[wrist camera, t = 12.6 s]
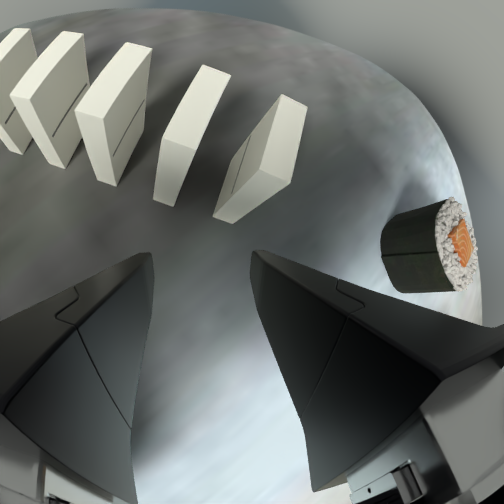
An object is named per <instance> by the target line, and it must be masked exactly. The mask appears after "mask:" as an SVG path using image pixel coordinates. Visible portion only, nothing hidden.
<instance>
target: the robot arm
mask: <svg viewBox="0 0 504 504" xmlns="http://www.w3.org/2000/svg"><path fill="white" fill-rule="evenodd" d="M250 280H251V285H252V289H253V294H254V299H255V303H256V307H257V311H258V314H259V317H260V319H261V322H262V325H263V327H264V330H265V332H266V335H267V338H268V340H269V343H270V345H271V348H272V350H273V353H274V356H275V358H276V361H277V363H278V366H279V368H280V371H281V373H282V376H283V378H284V381H285V383H286V386H287V388H288V391H289V393H290V396H291V398H292V401H293V403H294V406H295V408H296V411H297V413H298V416H299V418H300V421H301V424H302V427H303V430H304V434H305V440H306V447H307V455H308V463H309V470H310V478H311V487H312V491H313V492H317V491H321V490H324V489H328V488H331V487H334V486H337V485H340V484H344V483H347V482H348V484H349V487H350V490H351V493H352V494H350V499H351V502H352V504H504V372H503V371H502V367H503V366H504V324H503V325H500V326H498V327H495V328H490V327H484V326H480V325H477V324H474V323H471V322H468V321H465V320H462V319H459V318H455V317H452V316H449V315H446V314H443V313H440V312H437V311H434V310H431V309H428V308H424V307H421V306H418V305H415V304H412V303H409V302H406V301H403V300H400V299H397V298H393V297H390V296H387V295H384V294H381V293H378V292H375V291H372V290H369V289H366V288H363V287H360V286H358V285H355V284H352V283H350V282H347V281H344V280H342V279H339V280H338V278H335V277H333V276H330V275H328V274H325V273H322V272H320V271H317V270H315V269H312V268H309V267H307V266H304V265H302V264H299V263H296V262H294V261H291V260H288V259H286V258H283V257H281V256H278V255H275V254H273V253H270V252H268V251H265V250H255V251H253V252H252V257H251V266H250ZM153 291H154V268H153V260H152V254H151V253H149V252H147V253H138V254H136V255H134V256H132V257H130V258H128V259H126V260H124V261H122V262H120V263H118V264H116V265H114V266H112V267H110V268H108V269H106V270H104V271H102V272H100V273H98V274H96V275H94V276H92V277H90V278H88V279H86V280H84V281H82V282H81V283H79V284H77V285H75V286H74V287H73V286H72V287H70V288H68V289H66V290H64V291H62V292H61V293H59V294H57V295H55V296H53V297H51V298H49V299H47V300H44V301H42V302H40V303H38V304H36V305H34V306H32V307H30V308H28V309H25V310H23V311H21V312H19V313H17V314H15V315H13V316H11V317H9V318H7V319H5V320H2V321H0V504H138V501H137V495H136V489H135V482H134V475H133V467H132V459H131V449H130V437H131V428H132V420H133V413H134V406H135V399H136V393H137V387H138V381H139V375H140V369H141V364H142V358H143V353H144V348H145V343H146V338H147V333H148V329H149V324H150V319H151V314H152V303H153Z"/></svg>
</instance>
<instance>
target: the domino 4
mask: <svg viewBox="0 0 504 504" xmlns="http://www.w3.org/2000/svg"><path fill="white" fill-rule="evenodd" d="M230 77H231V75H229V74H226V73H224V72H221V71H219V70H216V69H214V68H211V67H208V66H206V65H202V67H201V68H200V70H199V72H198V73H197V75H196V76H195V78H194V80H193V81H192V83H191V85H190V87H189V88H188V90H187V92H186V94H185V95H184V97H183V99H182V101H181V102H180V104H179V106H178V108H177V110H176V112H175V113H174V115H173V117H172V119H171V121H170V123H169V125H168V127H167V129H166V131H165V133H164V135H163V137H162V141H161V146H160V152H159V159H158V165H157V172H156V179H155V187H154V195H153V200H155V201H158V202H161V203H164V204H167V205H169V206H172V207H174V204H175V202H176V199H177V197H178V194H179V191H180V189H181V186H182V184H183V182H184V179H185V177H186V174H187V172H188V169H189V167H190V164H191V162H192V159H193V157H194V155H195V152H196V150H197V148H198V145H199V143H200V141H201V138H202V136H203V134H204V132H205V129H206V127H207V125H208V123H209V121H210V118H211V116H212V114H213V112H214V110H215V108H216V105H217V103H218V101H219V99H220V97H221V95H222V93H223V91H224V89H225V87H226V85H227V83H228V81H229V79H230Z"/></svg>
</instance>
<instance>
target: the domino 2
mask: <svg viewBox="0 0 504 504" xmlns="http://www.w3.org/2000/svg"><path fill="white" fill-rule="evenodd" d="M89 88H90V83H89V76H88V69H87V62H86V53H85V44H84V34H81V33H74V32H66V31H63V32H62V33H61V34H60V35H59V36H58V37H57V38H56V39H55V40H54V41H53V42H52V43H51V44H50V45H49V46H48V47H47V48H46V50H45V51H44V52H43V53H42V54H41V55H40V56H39V57H38V59H37V60H36V61H35V62H34V63H33V65H32V66H31V67H30V68H29V69H28V71H27V72H26V73H25V75H24V76H23V77H22V78H21V80H20V81H19V82H18V84H17V85H16V86H15V88H14V89H13V91H12V92H11V93H10V95H9V96H10V98H11V100H12V101H13V103H14V105H15V107H16V109H17V111H18V113H19V114H20V116H21V118H22V120H23V121H24V123H25V125H26V127H27V128H28V130H29V132H30V133H31V135H32V137H33V138H34V140H35V142H36V143H37V145H38V147H39V148H40V150H41V151H42V153H43V155H44V156H45V158H46V159H47V161H48V162H49V164H52V165H55V166H58V167H61V168H64V169H66V167H67V165H68V163H69V161H70V159H71V157H72V155H73V153H74V151H75V150H76V148H77V146H78V144H79V142H80V140H81V139H82V134H81V131H80V128H79V125H78V121H77V118H76V115H75V111H74V110H75V109H76V107H77V106H78V104H79V103H80V101H81V100H82V98H83V97H84V95H85V94H86V92H87V91H88V90H89Z"/></svg>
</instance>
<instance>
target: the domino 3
mask: <svg viewBox="0 0 504 504" xmlns="http://www.w3.org/2000/svg"><path fill="white" fill-rule="evenodd" d="M151 54H152V48H148V47H144V46H140V45H136V44H132V43H128V42H126V43H125V44H124V45H123V46H122V48H121V49H120V50H119V51H118V52H117V53H116V55H115V56H114V57H113V58H112V59H111V61H110V62H109V63H108V64H107V66H106V67H105V68H104V69H103V71H102V72H101V73H100V75H99V76H98V77H97V79H96V80H95V81H94V83H93V84H92V85H91V87H90V88H89V90H88V91H87V92H86V94H85V95H84V97H83V98H82V100H81V101H80V103H79V104H78V106H77V107H76V109H75V110H74V111H75V115H76V118H77V121H78V125H79V128H80V131H81V134H82V137H83V140H84V143H85V146H86V149H87V152H88V155H89V158H90V161H91V164H92V167H93V169H94V172H95V175H96V177H97V180H99V181H102V182H104V183H107V184H110V185H113V186H116V187H117V185H118V182H119V180H120V178H121V176H122V174H123V171H124V169H125V167H126V165H127V163H128V161H129V159H130V157H131V154H132V152H133V150H134V148H135V146H136V144H137V142H138V141H139V139H140V137H141V135H142V133H143V131H144V119H145V106H146V95H147V86H148V77H149V69H150V61H151Z"/></svg>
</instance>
